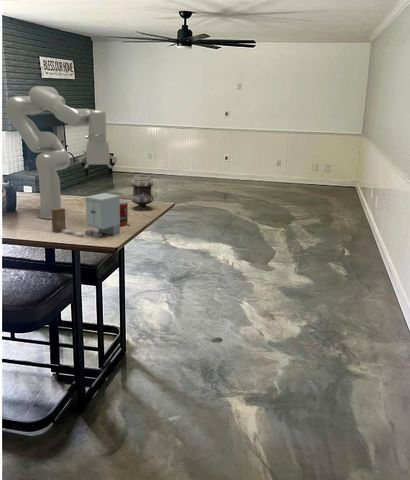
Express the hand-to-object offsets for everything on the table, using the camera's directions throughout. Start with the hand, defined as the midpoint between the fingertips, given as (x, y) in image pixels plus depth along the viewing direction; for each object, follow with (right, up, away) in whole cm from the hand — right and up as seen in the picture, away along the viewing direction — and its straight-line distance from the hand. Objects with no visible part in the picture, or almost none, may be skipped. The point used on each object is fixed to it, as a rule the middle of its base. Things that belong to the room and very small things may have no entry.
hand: (98, 176), depth 222 cm
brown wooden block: (-10, -26, -10) cm, 30 cm away
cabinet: (+4, -26, -9) cm, 28 cm away
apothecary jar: (+15, -12, +40) cm, 45 cm away
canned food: (+8, -22, +8) cm, 25 cm away
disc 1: (-1, -27, -10) cm, 29 cm away
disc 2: (+2, -28, -13) cm, 30 cm away
